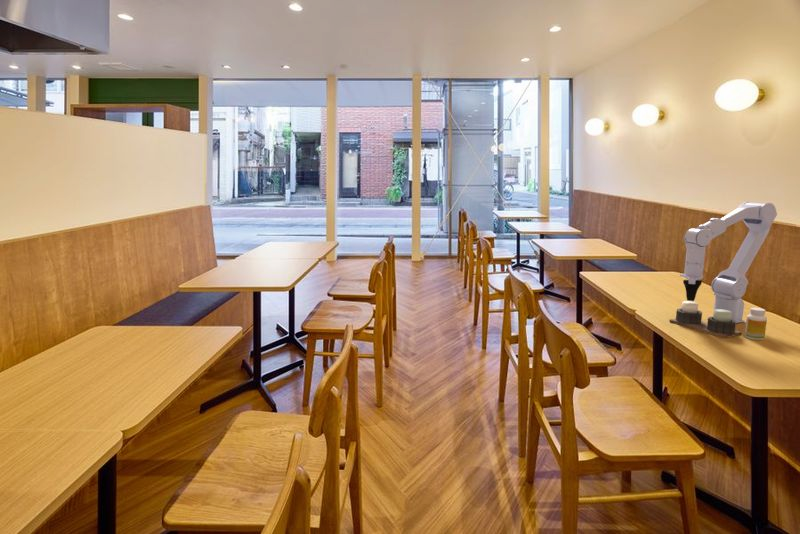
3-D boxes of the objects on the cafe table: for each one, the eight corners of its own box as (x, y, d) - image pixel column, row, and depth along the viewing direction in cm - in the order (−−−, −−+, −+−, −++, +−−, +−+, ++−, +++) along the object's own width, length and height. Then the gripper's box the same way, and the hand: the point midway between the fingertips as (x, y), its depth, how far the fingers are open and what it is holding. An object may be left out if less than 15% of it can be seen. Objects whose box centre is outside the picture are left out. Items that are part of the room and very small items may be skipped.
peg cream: (687, 310, 185) (688, 300, 184) (700, 313, 180) (701, 303, 180) (678, 311, 183) (679, 302, 182) (690, 314, 179) (691, 305, 178)
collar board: (686, 319, 188) (688, 307, 187) (741, 334, 170) (742, 321, 169) (669, 321, 184) (670, 309, 184) (722, 337, 166) (724, 324, 165)
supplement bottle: (767, 340, 163) (771, 311, 161) (748, 339, 164) (752, 310, 163) (759, 335, 168) (763, 307, 167) (741, 334, 169) (744, 306, 168)
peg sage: (719, 318, 174) (720, 308, 174) (734, 322, 170) (735, 312, 169) (709, 320, 172) (710, 310, 172) (723, 324, 168) (725, 313, 167)
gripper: (682, 258, 187) (679, 295, 189) (680, 264, 175) (676, 303, 177) (705, 260, 183) (701, 297, 185) (704, 266, 171) (699, 305, 173)
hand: (690, 300), depth 181 cm, fingers closed
